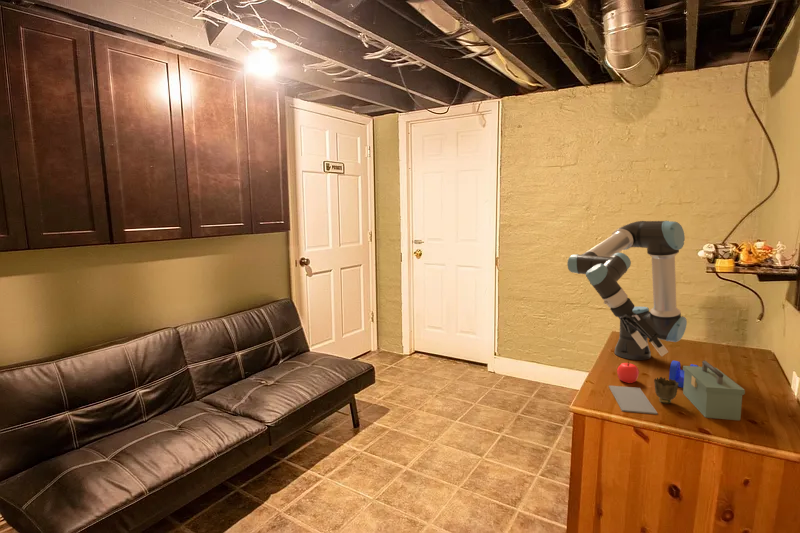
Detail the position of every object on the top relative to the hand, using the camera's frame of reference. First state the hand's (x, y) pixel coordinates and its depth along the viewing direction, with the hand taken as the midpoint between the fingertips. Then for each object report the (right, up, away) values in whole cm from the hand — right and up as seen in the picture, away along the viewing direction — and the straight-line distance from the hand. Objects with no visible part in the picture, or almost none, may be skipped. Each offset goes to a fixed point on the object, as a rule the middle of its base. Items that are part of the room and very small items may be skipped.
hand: (654, 350), depth 159 cm
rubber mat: (-7, -18, +2) cm, 20 cm away
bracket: (+24, -16, +18) cm, 34 cm away
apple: (0, -16, +19) cm, 25 cm away
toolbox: (+17, -19, -4) cm, 26 cm away
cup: (+3, -19, -1) cm, 19 cm away
